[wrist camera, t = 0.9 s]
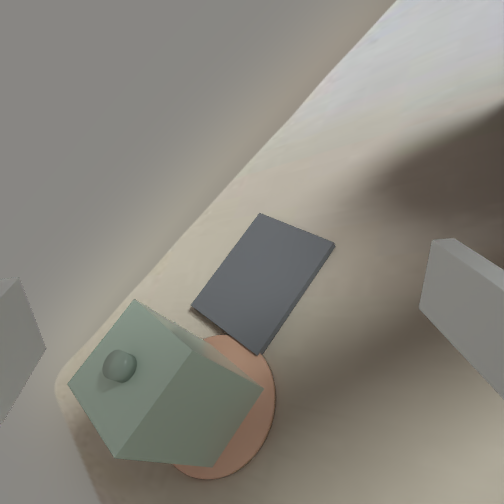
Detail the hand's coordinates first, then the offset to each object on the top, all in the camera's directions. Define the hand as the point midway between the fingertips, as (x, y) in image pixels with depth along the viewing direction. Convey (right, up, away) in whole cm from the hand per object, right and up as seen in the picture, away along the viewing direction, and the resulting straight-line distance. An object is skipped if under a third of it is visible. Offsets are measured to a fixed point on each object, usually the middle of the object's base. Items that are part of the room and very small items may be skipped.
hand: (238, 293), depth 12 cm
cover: (-4, -13, +23) cm, 27 cm away
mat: (+1, -2, +29) cm, 29 cm away
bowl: (-3, -13, +23) cm, 27 cm away
